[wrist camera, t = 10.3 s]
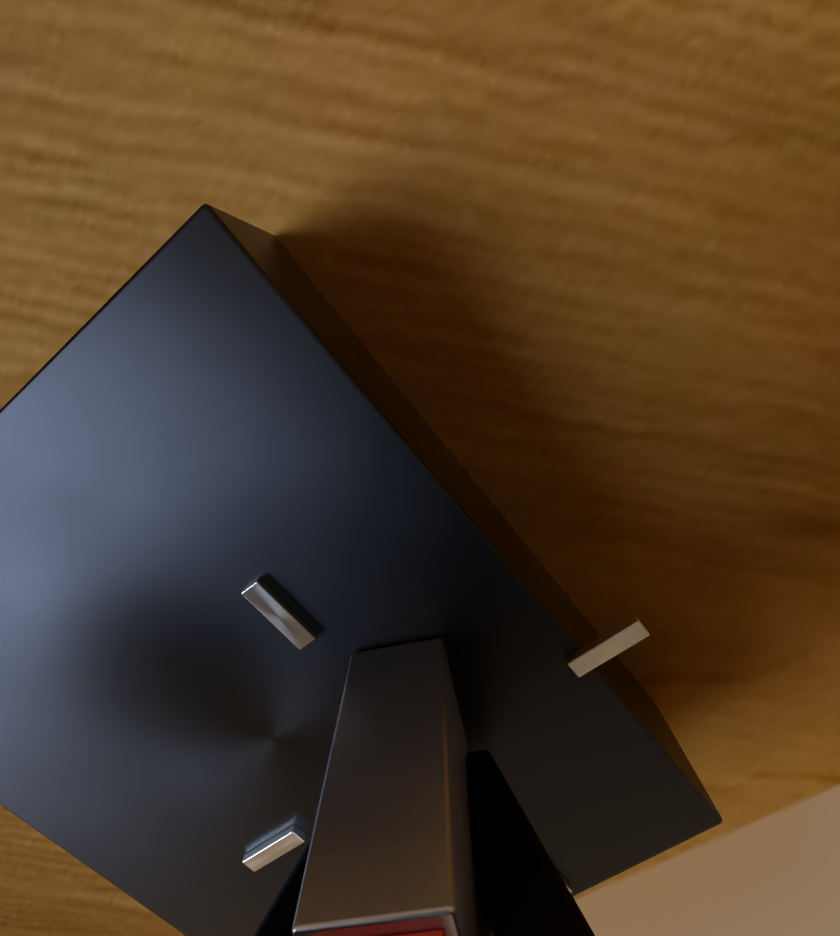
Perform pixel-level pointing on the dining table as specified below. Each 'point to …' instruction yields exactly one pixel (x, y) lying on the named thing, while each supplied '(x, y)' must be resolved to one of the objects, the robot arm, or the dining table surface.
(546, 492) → the dining table surface
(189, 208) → the dining table surface
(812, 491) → the dining table surface
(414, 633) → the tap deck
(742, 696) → the dining table surface
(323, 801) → the grey rectangular block
